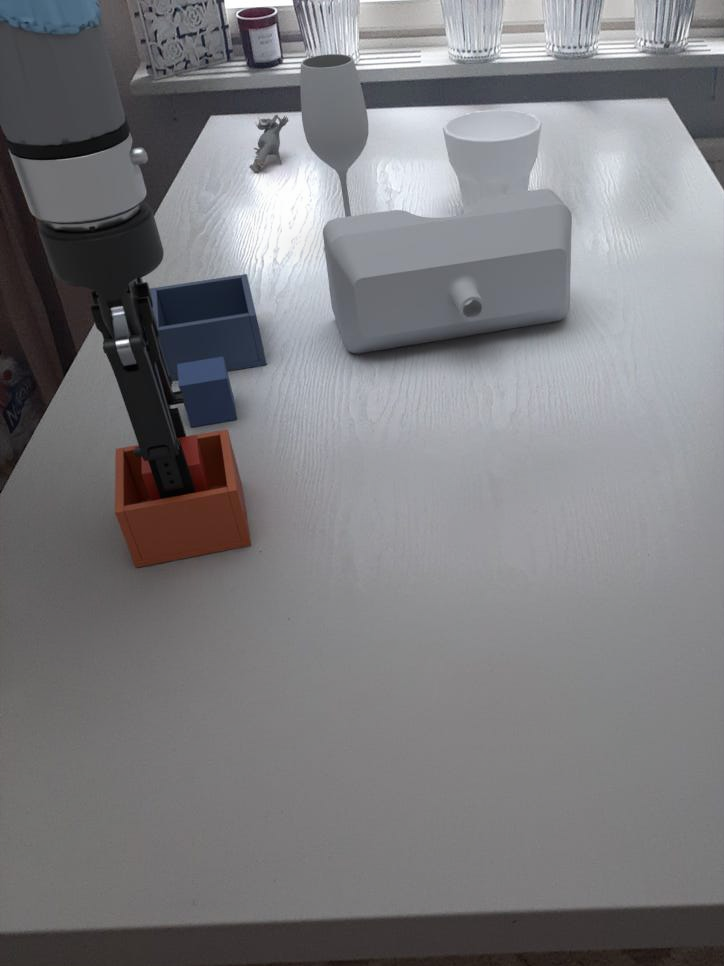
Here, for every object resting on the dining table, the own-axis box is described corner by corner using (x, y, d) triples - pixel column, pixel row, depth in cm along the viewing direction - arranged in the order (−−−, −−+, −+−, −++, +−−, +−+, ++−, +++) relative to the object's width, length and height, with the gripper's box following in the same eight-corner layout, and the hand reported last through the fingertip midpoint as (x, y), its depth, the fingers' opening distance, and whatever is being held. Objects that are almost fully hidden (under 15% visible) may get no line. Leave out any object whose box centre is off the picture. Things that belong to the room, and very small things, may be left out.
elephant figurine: (225, 171, 146) (246, 131, 150) (259, 197, 149) (279, 157, 153) (254, 134, 139) (275, 92, 142) (289, 162, 142) (309, 120, 145)
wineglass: (384, 234, 126) (364, 50, 111) (379, 258, 120) (356, 68, 106) (327, 236, 126) (299, 53, 112) (318, 261, 121) (288, 71, 106)
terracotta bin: (135, 568, 79) (114, 512, 75) (134, 502, 85) (115, 448, 81) (251, 545, 80) (236, 489, 76) (241, 483, 87) (227, 428, 83)
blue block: (190, 427, 94) (178, 386, 91) (188, 404, 97) (176, 363, 94) (237, 419, 94) (226, 377, 91) (233, 397, 98) (223, 356, 94)
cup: (493, 190, 136) (490, 103, 128) (560, 210, 129) (562, 120, 121) (429, 217, 129) (422, 127, 122) (496, 240, 123) (493, 147, 115)
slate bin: (166, 381, 100) (151, 330, 97) (163, 337, 108) (149, 288, 104) (266, 364, 102) (256, 314, 98) (257, 322, 109) (246, 273, 106)
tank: (356, 386, 98) (338, 265, 89) (333, 318, 109) (315, 204, 101) (590, 347, 102) (595, 227, 93) (544, 285, 113) (545, 172, 104)
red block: (157, 520, 79) (141, 473, 76) (156, 489, 82) (140, 444, 79) (213, 509, 80) (199, 463, 76) (209, 479, 83) (196, 434, 80)
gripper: (153, 251, 59) (237, 550, 75) (147, 160, 71) (220, 434, 87) (25, 270, 58) (138, 570, 74) (42, 174, 70) (136, 449, 86)
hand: (183, 496), depth 81 cm, fingers closed on red block, 4 cm apart
